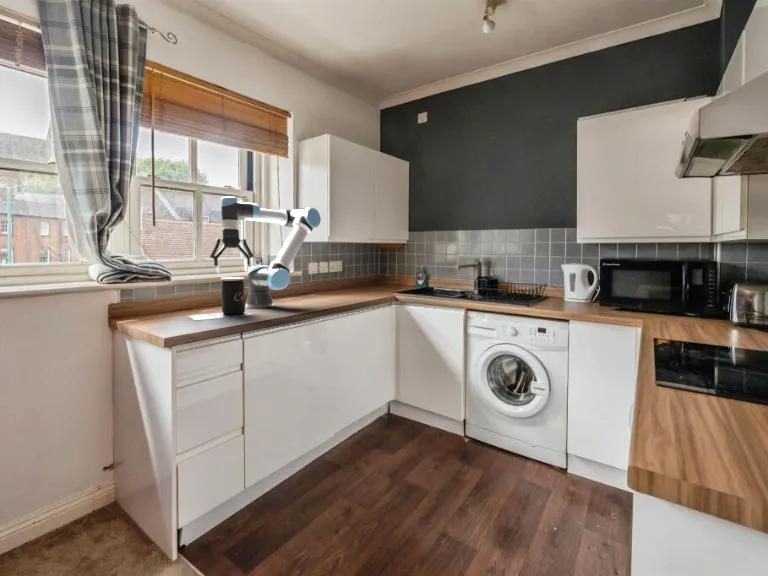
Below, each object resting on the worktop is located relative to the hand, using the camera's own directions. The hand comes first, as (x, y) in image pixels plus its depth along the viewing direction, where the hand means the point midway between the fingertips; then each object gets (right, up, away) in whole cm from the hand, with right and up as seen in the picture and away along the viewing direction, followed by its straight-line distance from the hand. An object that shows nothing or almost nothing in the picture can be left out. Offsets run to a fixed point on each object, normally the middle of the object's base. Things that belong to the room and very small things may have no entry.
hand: (232, 272), depth 193 cm
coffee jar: (0, -21, +2) cm, 21 cm away
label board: (-5, -22, -2) cm, 22 cm away
